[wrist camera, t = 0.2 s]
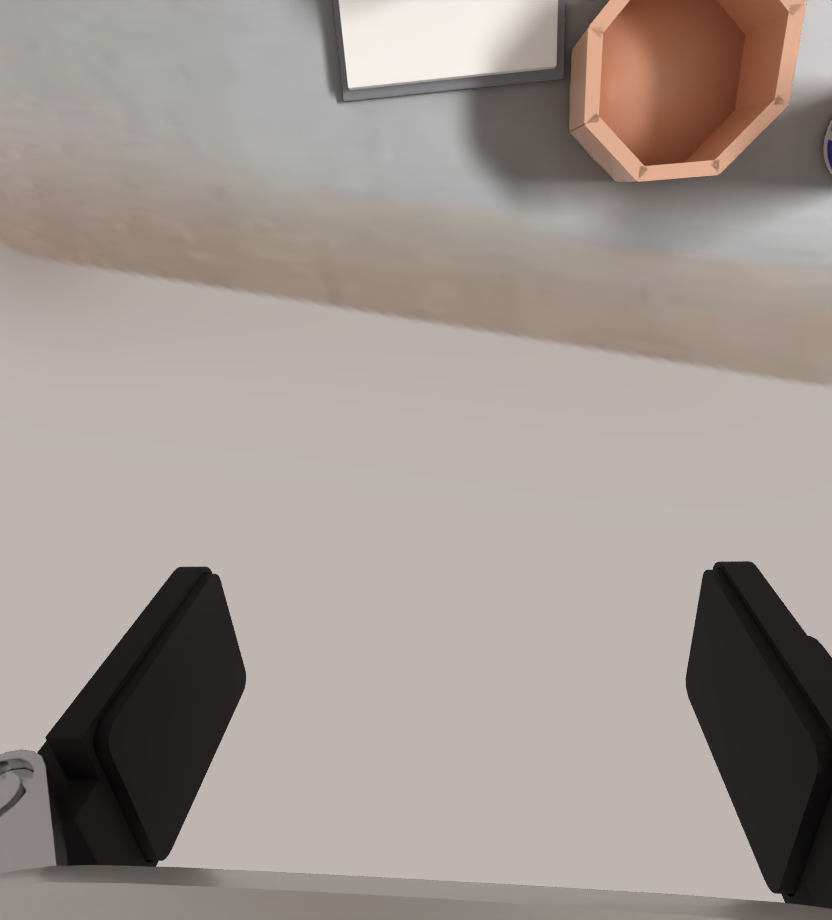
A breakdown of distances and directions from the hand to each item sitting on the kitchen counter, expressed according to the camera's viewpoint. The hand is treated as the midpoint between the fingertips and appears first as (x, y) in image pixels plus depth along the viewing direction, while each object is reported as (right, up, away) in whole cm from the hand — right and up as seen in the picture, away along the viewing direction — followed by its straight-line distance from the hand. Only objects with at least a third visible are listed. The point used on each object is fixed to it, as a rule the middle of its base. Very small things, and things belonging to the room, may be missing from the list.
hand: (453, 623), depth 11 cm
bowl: (+13, +24, +21) cm, 35 cm away
